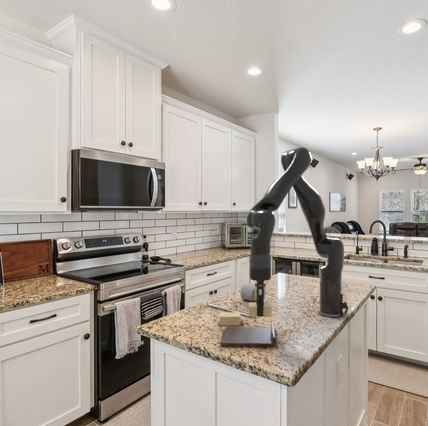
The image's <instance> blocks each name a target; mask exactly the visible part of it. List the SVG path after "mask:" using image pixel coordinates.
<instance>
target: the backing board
mask: <svg viewBox="0 0 428 426" xmlns="http://www.w3.org/2000/svg"><path fill="white" fill-rule="evenodd" d="M275 330H276V329H275V324H274V321H271V325H270V326H256V327H255V326H226V327H225V330H224V334H223V337H222V339H221V345H220V346H221V348H225V347H226V348H227V347H228V348H246V347H247V348H276V332H275Z"/></svg>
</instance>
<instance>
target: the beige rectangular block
mask: <svg viewBox="0 0 428 426" xmlns="http://www.w3.org/2000/svg"><path fill="white" fill-rule="evenodd" d="M256 303H257V302H251V301H249V303H248V314H249V316H248V317H249V318H259V317H258V316H257V305H256ZM272 310H273V309H272V302H264V306H263V316H262V317H261V318H272V315H273V314H272V312H273V311H272Z"/></svg>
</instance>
